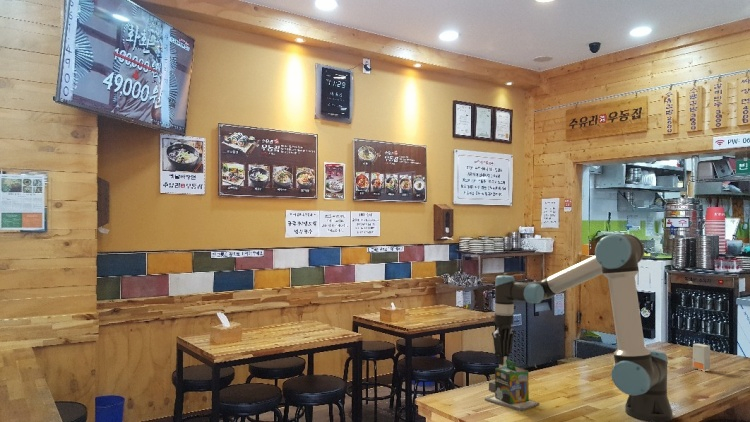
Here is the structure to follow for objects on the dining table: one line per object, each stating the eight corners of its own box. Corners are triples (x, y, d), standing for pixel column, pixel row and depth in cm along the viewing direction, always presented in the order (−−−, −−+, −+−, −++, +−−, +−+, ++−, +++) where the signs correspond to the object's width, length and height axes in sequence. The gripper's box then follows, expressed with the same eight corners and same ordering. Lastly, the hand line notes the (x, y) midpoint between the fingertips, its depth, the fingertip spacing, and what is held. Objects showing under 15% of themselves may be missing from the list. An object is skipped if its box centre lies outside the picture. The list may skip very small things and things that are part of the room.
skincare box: (692, 369, 263) (692, 343, 264) (698, 368, 265) (698, 343, 265) (704, 372, 258) (704, 346, 258) (710, 371, 260) (710, 345, 260)
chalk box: (529, 401, 207) (529, 362, 207) (509, 404, 203) (510, 364, 203) (513, 394, 215) (513, 356, 215) (494, 397, 211) (494, 358, 212)
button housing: (517, 390, 223) (517, 383, 223) (505, 394, 218) (505, 387, 218) (500, 386, 229) (500, 378, 229) (488, 389, 224) (488, 382, 224)
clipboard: (540, 404, 206) (540, 401, 206) (521, 411, 198) (521, 408, 198) (503, 394, 219) (503, 391, 219) (484, 400, 211) (484, 396, 211)
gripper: (505, 311, 231) (504, 367, 231) (486, 314, 223) (485, 372, 222) (521, 313, 226) (519, 371, 225) (502, 316, 217) (500, 377, 217)
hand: (502, 372), depth 224 cm, fingers closed
